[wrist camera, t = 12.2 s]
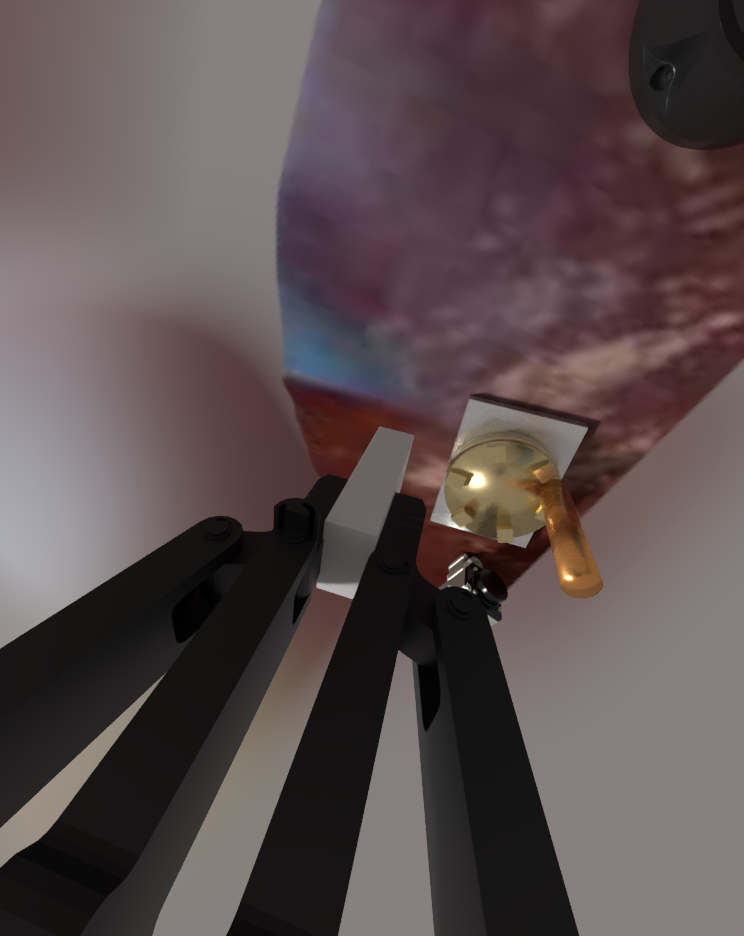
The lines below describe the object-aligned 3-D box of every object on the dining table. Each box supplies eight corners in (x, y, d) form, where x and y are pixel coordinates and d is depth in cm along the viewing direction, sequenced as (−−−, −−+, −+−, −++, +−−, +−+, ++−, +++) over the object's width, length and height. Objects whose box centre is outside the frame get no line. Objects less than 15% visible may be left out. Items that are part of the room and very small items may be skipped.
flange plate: (469, 394, 44) (469, 399, 42) (585, 422, 42) (588, 428, 41) (431, 514, 53) (430, 520, 52) (524, 540, 51) (525, 548, 50)
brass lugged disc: (562, 424, 41) (605, 517, 27) (564, 521, 47) (600, 640, 32) (438, 439, 45) (418, 525, 31) (453, 525, 51) (443, 632, 37)
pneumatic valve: (505, 551, 53) (511, 622, 43) (451, 591, 59) (445, 661, 49) (475, 529, 53) (473, 596, 42) (423, 572, 59) (412, 638, 49)
